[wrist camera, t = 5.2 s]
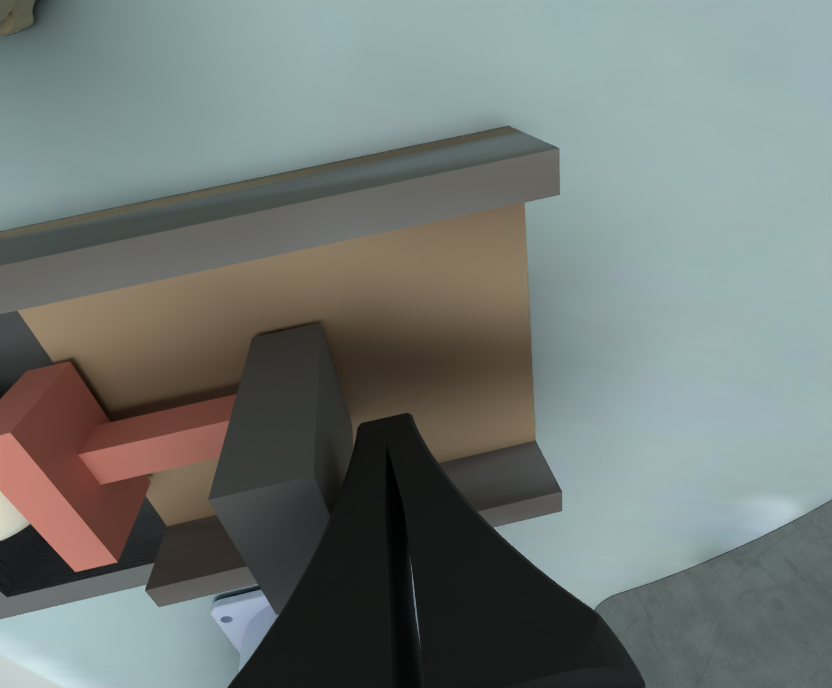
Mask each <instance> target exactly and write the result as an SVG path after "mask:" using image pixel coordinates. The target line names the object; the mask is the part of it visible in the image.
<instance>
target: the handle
mask: <svg viewBox="0 0 832 688" xmlns="http://www.w3.org/2000/svg"><path fill="white" fill-rule="evenodd" d="M34 3H35V0H0V36H6V35H10V34H14V33H17V32H19V31H21V30H23V29H26V28H27V27H29V26H31V25H33V21H34V17H33V13H32V11H33V6H34Z"/></svg>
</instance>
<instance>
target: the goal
mask: <svg viewBox="0 0 832 688" xmlns="http://www.w3.org/2000/svg"><path fill="white" fill-rule="evenodd" d="M51 365H55V364H54V363H53V361H52V360H51V358H50V357H49V355H48V354H47V353H46V351H45V350H44V348H43V347H42V345H41V344H40V342H39V341H38V340H37V338H36V337H35V335H34V334H33V332H32V331H31V329H30V328H29V327H28V325H27V324H26V322H25V321H24V319H23V318H22V316H21V315H20V314H19V312H18V311H13V312H8V313H4V314H0V399H1V398H2V397H3V396H4V395H5V393H6V392H7V391H8V390H9V389H10V388H11V387H12V386H13V385H14V384H15V383H16V382H17V381H18V380H19V379H20V378H21V376H22V375H23V374H24V373H25V372H26V371H28V370H33V369H37V368H42V367H46V366H51ZM166 528H167V526H166V524H165V523H164V521H163V520H162V518H161V517H160V515H159V514H158V513H157V511H156V510H155V508H154V507H153V505H152V504H151V503H150V501H149V500H148V498H147V497H146V495H145V498H144V500H143V503H142V505H141V508H140V510H139V512H138V515H137V517H136V520H135V522H134V524H133V527H132V529H131V532H130V534H129V536H128V539H127V541H126V544H125V546H124V549H123V551H122V553H121V556H120V558H119V561H118V562H117V563H112V564H108V565H104V566H99V567H95V568H91V569H87V570H82V571H78V572H75V571H74V570H73V569H72V568H71V567H70V566H69V565H68V564H67V563H66V561H65V560H64V559H63V558H62V557H61V556H60V555H59V554H58V553H57V552H56V551H55V550H54V549H53V547H52V546H51V545H50V544H49V543H48V542H47V541H46V540H45V539H44V538H43V537H42V536H41V534H40V533H39V532H38V531H37V530H36V529H35V528H34V527H33V526H32V525H31V524H30V525H28V526H27V527H26V528H24V529H22V530H21V531H19V532H18V533H16V534H14V535H12V536H10V537H8V538H6V539H4V540H1V541H0V619H3V618H7V617H11V616H16V615H20V614H24V613H28V612H33V611H37V610H41V609H45V608H49V607H54V606H58V605H62V604H66V603H71V602H75V601H79V600H83V599H87V598H92V597H96V596H100V595H104V594H109V593H113V592H117V591H121V590H125V589H130V588H134V587H138V586H142V585H147V583H148V580H149V577H150V575H151V572H152V569H153V566H154V563H155V560H156V557H157V554H158V551H159V548H160V545H161V542H162V540H163V537H164V534H165V531H166Z"/></svg>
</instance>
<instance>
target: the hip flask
mask: <svg viewBox="0 0 832 688" xmlns="http://www.w3.org/2000/svg"><path fill="white" fill-rule="evenodd" d="M595 611H596V612H597V613H599V614H600V616H601V617H602V618H603V619H604V621H605V622H606V623H607V624H608V626H609V627H610V628H611V629H612V631H613V632H614V633H615V635H616V636H617V637H618V639H619V640H620V642H621V643H622V644H623V646H624V647H625V649H626V650H627V652H628V653H629V655H630V656H631V658H632V660H633V661H634V663H635V665H636V666H637V668H638V669H639V671H640V673H641V675H642V677H643V679H644V681H645V687H646V688H832V500H831V501H829V502H828V503H826V504H824V505H822V506H820V507H819V508H817V509H815V510H813V511H811V512H810V513H808V514H806V515H804V516H802V517H800V518H798V519H796V520H794V521H792V522H791V523H789V524H787V525H785V526H783V527H781V528H779V529H777V530H775V531H773V532H771V533H768V534H766V535H764V536H762V537H760V538H758V539H756V540H754V541H752V542H749V543H747V544H745V545H743V546H741V547H738V548H736V549H734V550H732V551H729V552H727V553H725V554H723V555H720V556H718V557H716V558H713V559H711V560H709V561H706V562H704V563H702V564H699V565H697V566H694V567H692V568H690V569H687V570H684V571H682V572H679V573H677V574H674V575H672V576H669V577H666V578H663V579H661V580H658V581H655V582H653V583H650V584H647V585H644V586H641V587H638V588H635V589H632V590H629V591H625V592H622V593H619V594H616V595H614V596H612V597H609V598H608V599H606V600H604V601H603V602H602V603H601V604H600V605H599V606H598V607H597V608H596V610H595Z"/></svg>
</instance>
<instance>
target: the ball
mask: <svg viewBox="0 0 832 688" xmlns="http://www.w3.org/2000/svg"><path fill="white" fill-rule="evenodd" d="M28 525H30V523H29V522H28V520H27V519H26V518H25V517H24V516H23V515H22V514H21V513H20V512H19V511H18V510H17V509H16V507H15V506H14V505H13V504H12V503H11V502H10V501H9V500H8V499H7V498H6V497H5V496H4V495H3V493H2V492H1V491H0V541H1V540H4V539H6V538H8V537H10V536H12V535H14V534H16V533H18V532H19V531H21V530H22V529H24V528H26V527H27V526H28Z"/></svg>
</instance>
